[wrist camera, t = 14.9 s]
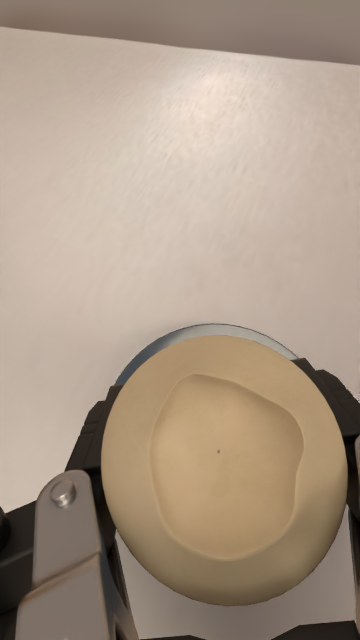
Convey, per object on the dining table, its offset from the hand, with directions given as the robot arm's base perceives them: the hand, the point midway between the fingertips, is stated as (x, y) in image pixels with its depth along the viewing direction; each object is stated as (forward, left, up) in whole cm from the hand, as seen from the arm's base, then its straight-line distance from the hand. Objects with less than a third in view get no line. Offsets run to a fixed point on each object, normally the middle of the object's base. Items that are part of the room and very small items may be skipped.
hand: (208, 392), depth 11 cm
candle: (-1, +2, -5) cm, 5 cm away
